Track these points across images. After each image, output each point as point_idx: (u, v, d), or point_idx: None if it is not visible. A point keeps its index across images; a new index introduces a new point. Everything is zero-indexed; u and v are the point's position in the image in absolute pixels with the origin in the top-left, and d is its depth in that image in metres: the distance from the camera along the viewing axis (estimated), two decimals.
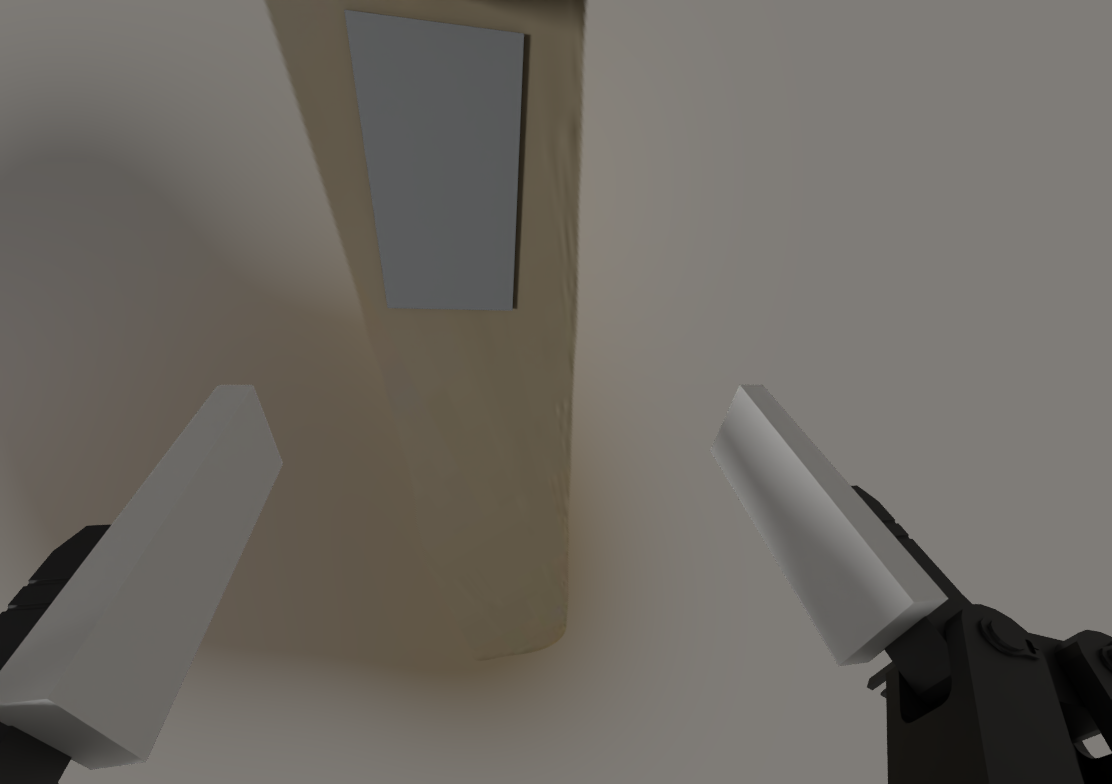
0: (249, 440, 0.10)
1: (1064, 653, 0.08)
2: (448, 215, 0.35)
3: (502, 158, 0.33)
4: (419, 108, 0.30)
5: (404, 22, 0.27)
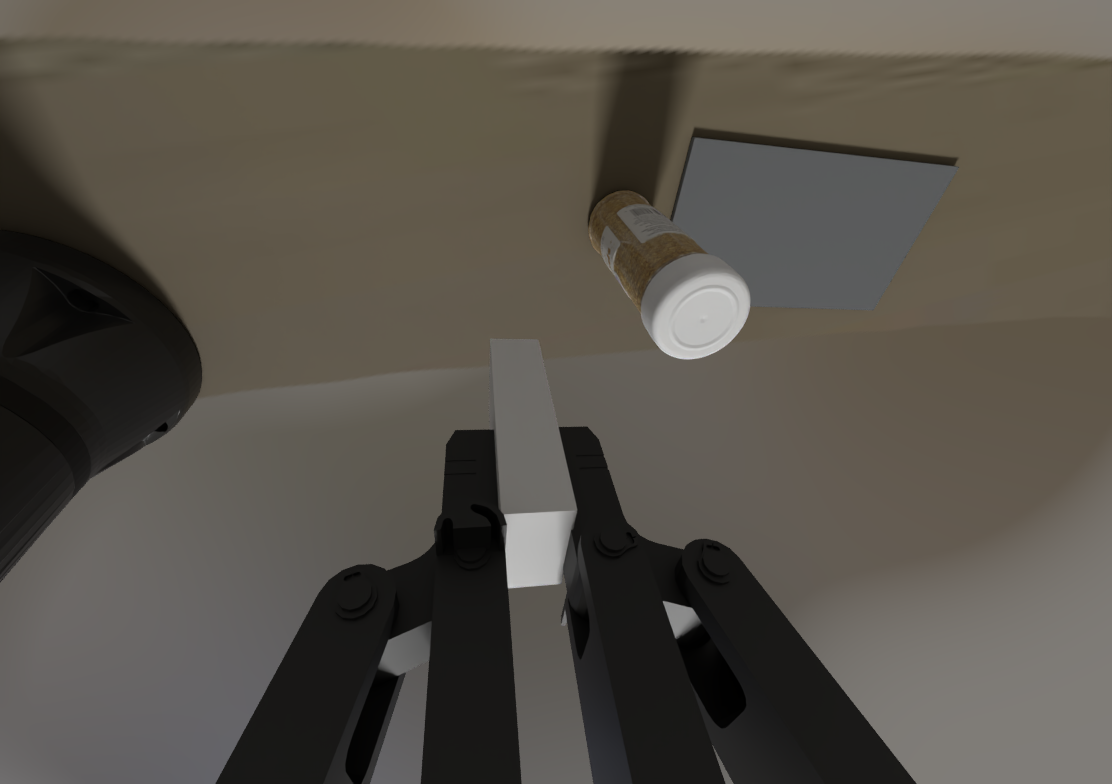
0: None
1: (679, 578, 0.08)
2: (820, 237, 0.32)
3: (793, 170, 0.29)
4: (726, 254, 0.32)
5: None
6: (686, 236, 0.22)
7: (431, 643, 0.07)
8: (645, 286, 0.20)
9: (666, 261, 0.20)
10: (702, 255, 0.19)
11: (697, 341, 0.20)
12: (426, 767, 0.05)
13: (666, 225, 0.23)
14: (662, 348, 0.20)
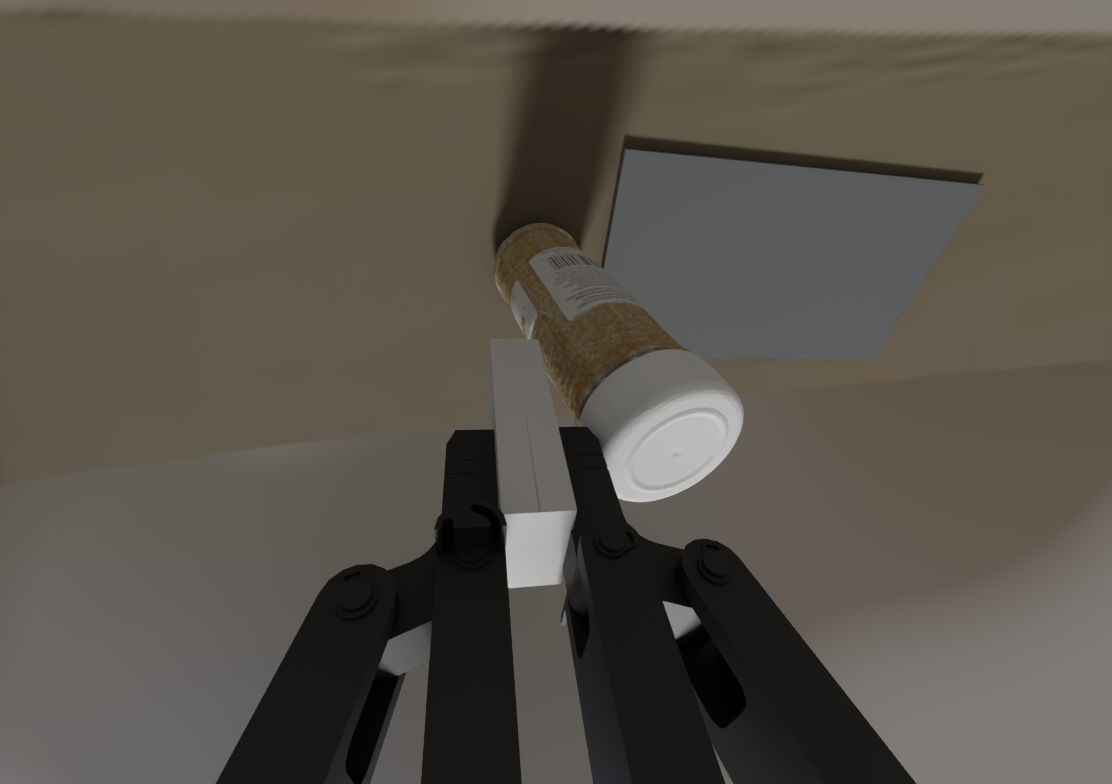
0: None
1: (679, 578, 0.08)
2: (804, 276, 0.25)
3: (764, 192, 0.21)
4: (681, 299, 0.24)
5: None
6: (633, 305, 0.15)
7: (431, 643, 0.07)
8: (581, 400, 0.13)
9: (610, 363, 0.12)
10: (666, 355, 0.12)
11: (669, 479, 0.13)
12: (426, 767, 0.05)
13: (602, 287, 0.15)
14: (617, 496, 0.13)
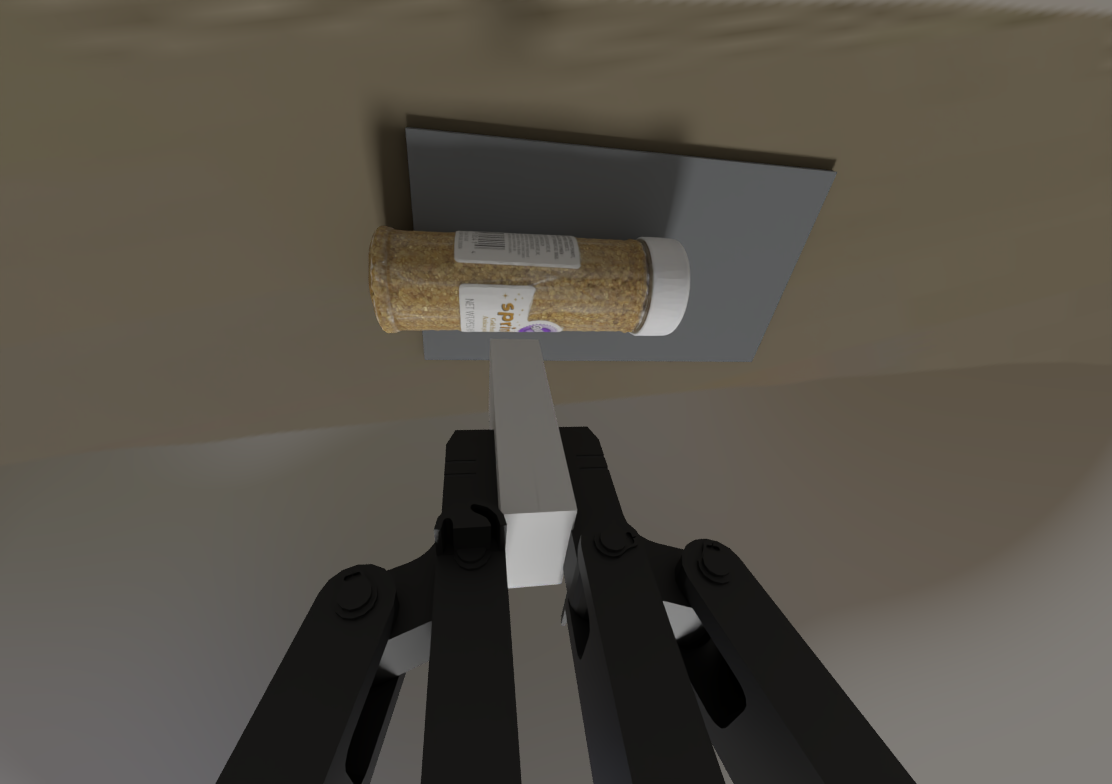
0: None
1: (679, 578, 0.08)
2: None
3: (581, 177, 0.20)
4: None
5: None
6: (575, 237, 0.20)
7: (431, 643, 0.07)
8: (643, 298, 0.19)
9: (643, 265, 0.19)
10: (654, 241, 0.19)
11: None
12: (426, 767, 0.05)
13: (552, 238, 0.19)
14: (670, 332, 0.21)
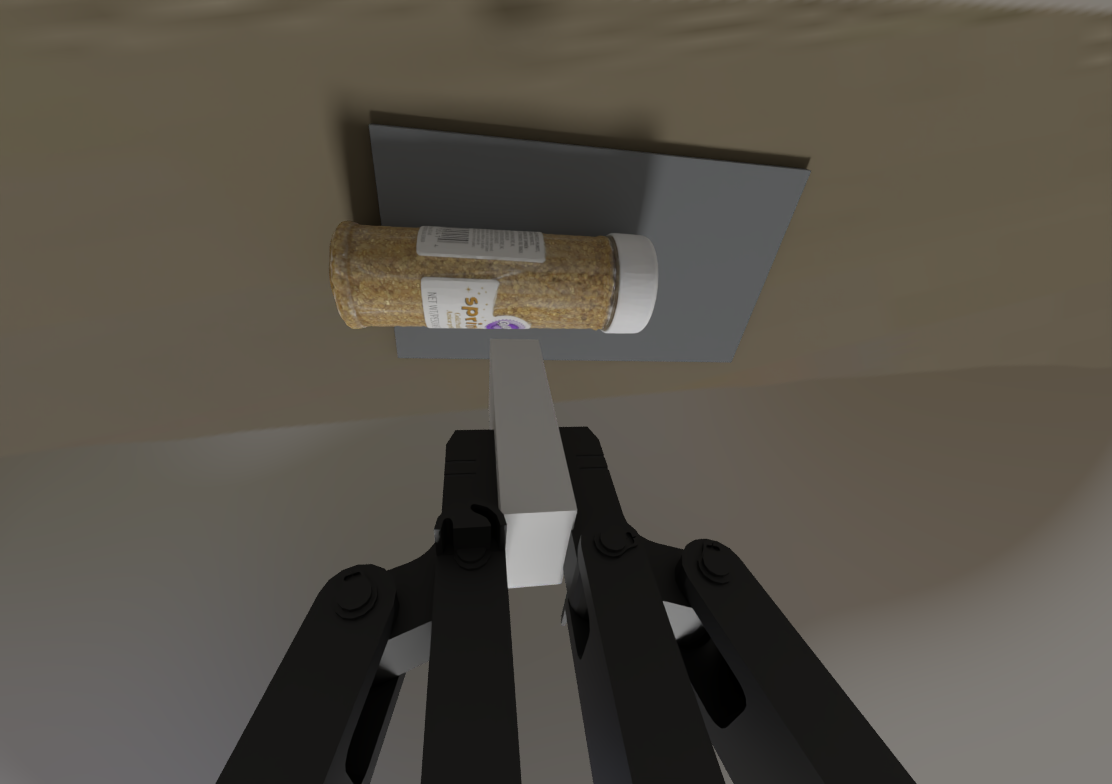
0: None
1: (679, 578, 0.08)
2: None
3: (550, 175, 0.19)
4: None
5: None
6: (542, 233, 0.19)
7: (431, 643, 0.07)
8: (610, 293, 0.19)
9: (609, 259, 0.18)
10: (622, 236, 0.19)
11: None
12: (426, 767, 0.05)
13: (518, 233, 0.19)
14: (641, 329, 0.21)
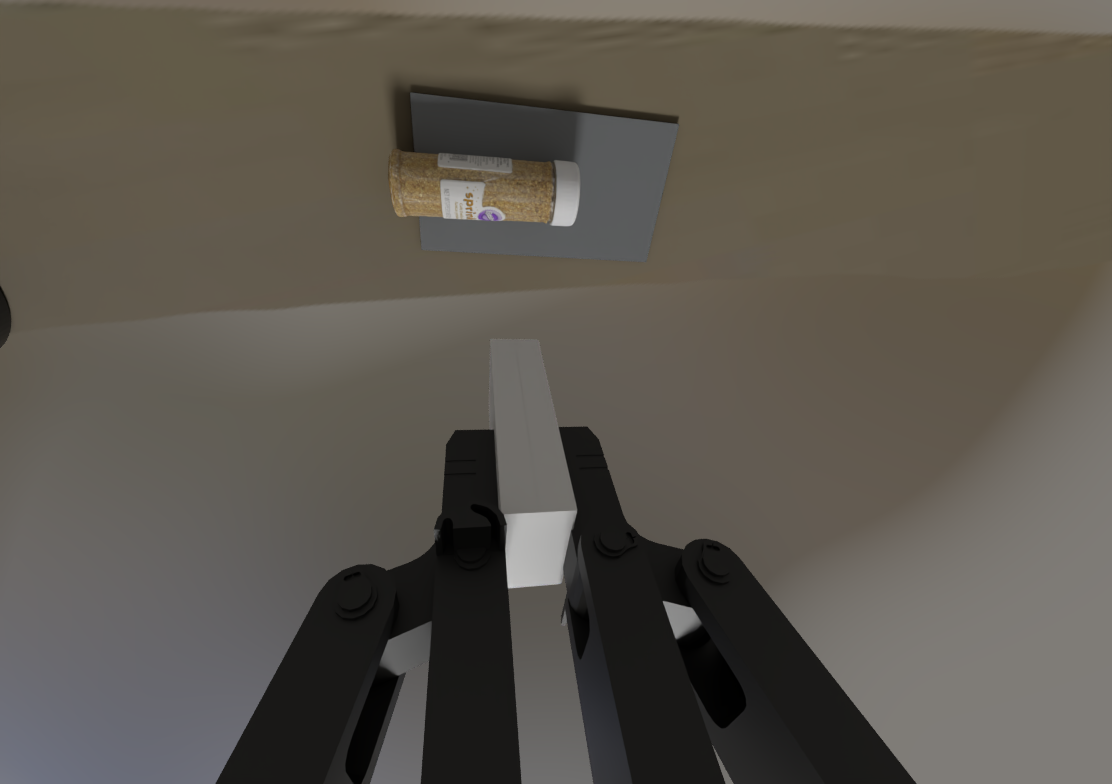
0: None
1: (679, 578, 0.08)
2: None
3: (516, 125, 0.32)
4: None
5: None
6: (512, 159, 0.32)
7: (431, 643, 0.07)
8: (551, 193, 0.32)
9: (550, 172, 0.31)
10: (559, 161, 0.32)
11: None
12: (426, 767, 0.05)
13: (496, 157, 0.32)
14: (574, 221, 0.34)
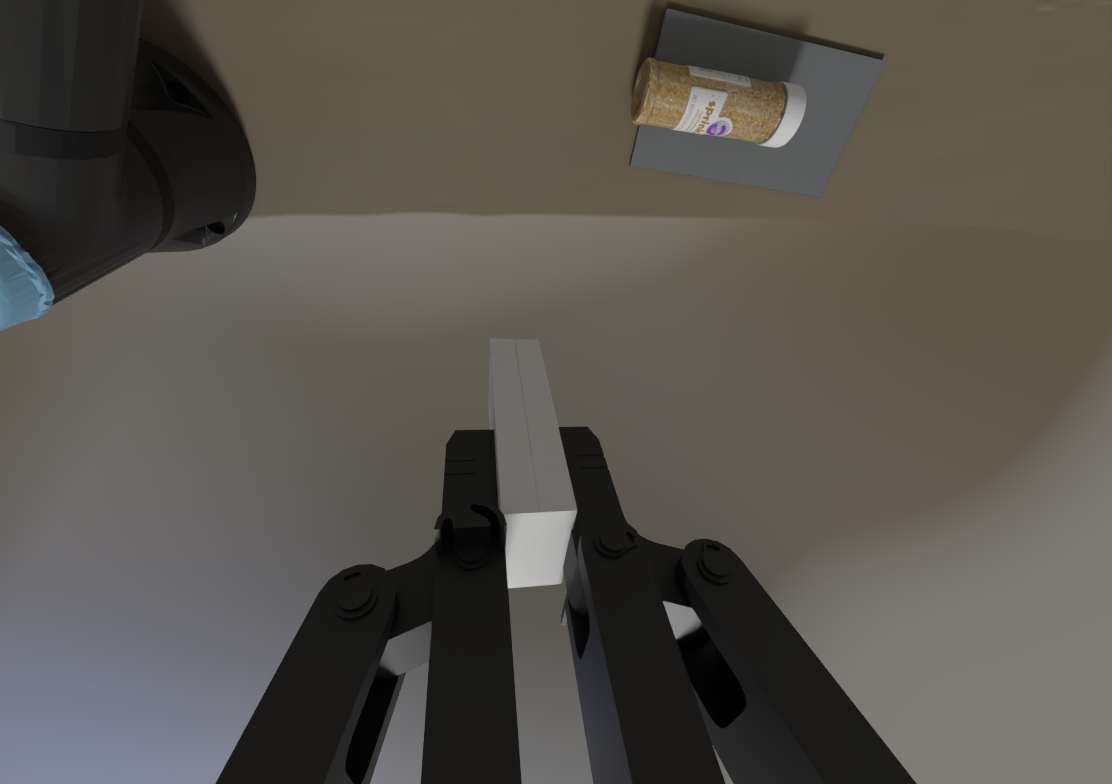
0: None
1: (679, 578, 0.08)
2: None
3: (747, 48, 0.36)
4: None
5: None
6: None
7: (431, 643, 0.07)
8: (781, 108, 0.35)
9: (782, 90, 0.35)
10: (786, 82, 0.35)
11: None
12: (426, 767, 0.05)
13: (733, 74, 0.35)
14: None
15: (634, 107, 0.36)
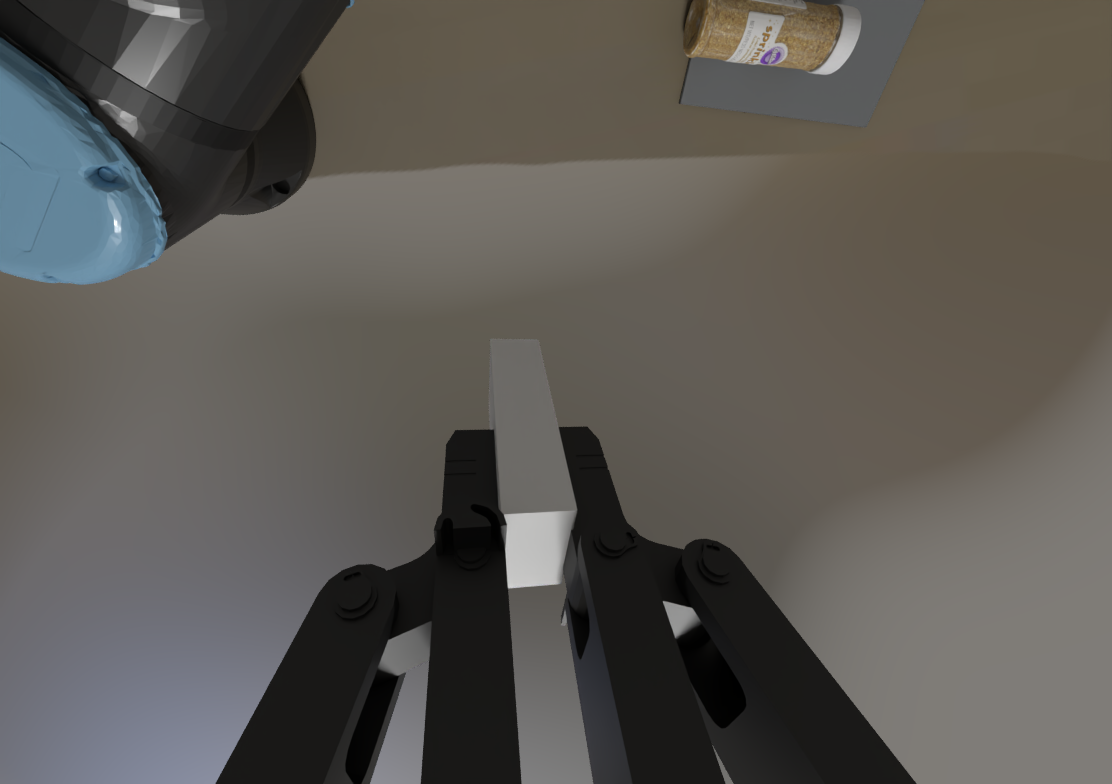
0: None
1: (679, 578, 0.08)
2: None
3: None
4: None
5: None
6: None
7: (431, 643, 0.07)
8: (837, 30, 0.35)
9: (837, 11, 0.35)
10: (839, 4, 0.35)
11: None
12: (426, 767, 0.05)
13: None
14: (841, 65, 0.37)
15: (687, 40, 0.36)
